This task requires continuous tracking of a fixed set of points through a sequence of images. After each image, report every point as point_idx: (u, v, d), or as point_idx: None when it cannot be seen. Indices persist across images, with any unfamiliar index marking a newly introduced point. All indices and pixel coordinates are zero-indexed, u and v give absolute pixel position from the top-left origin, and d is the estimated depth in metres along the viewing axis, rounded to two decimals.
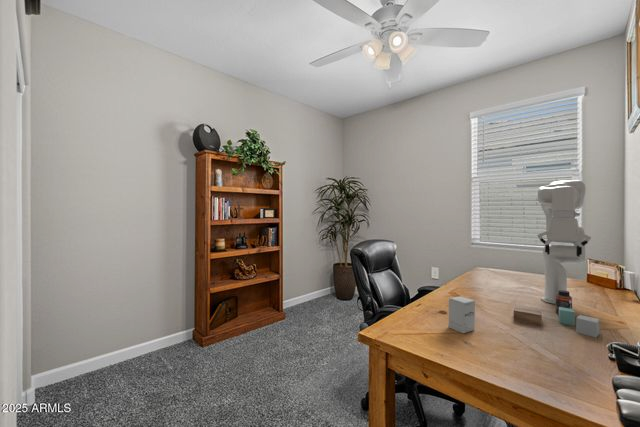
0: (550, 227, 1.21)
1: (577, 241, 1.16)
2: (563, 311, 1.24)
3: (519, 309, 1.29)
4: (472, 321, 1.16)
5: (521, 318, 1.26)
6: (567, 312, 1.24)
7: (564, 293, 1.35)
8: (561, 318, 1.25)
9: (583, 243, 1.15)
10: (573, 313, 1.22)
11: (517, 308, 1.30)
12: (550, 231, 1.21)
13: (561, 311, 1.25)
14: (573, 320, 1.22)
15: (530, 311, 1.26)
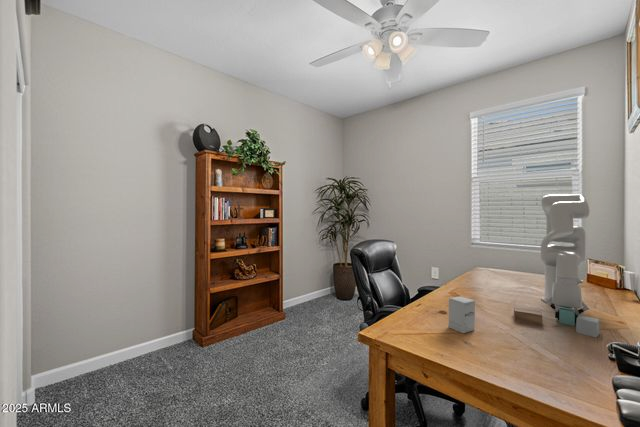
0: (554, 292, 1.27)
1: (576, 309, 1.22)
2: (563, 311, 1.24)
3: (519, 309, 1.29)
4: (472, 321, 1.16)
5: (522, 319, 1.26)
6: (567, 312, 1.24)
7: None
8: (561, 318, 1.25)
9: (579, 311, 1.22)
10: (573, 313, 1.22)
11: (517, 308, 1.30)
12: (554, 296, 1.27)
13: (561, 311, 1.25)
14: (573, 320, 1.22)
15: (530, 311, 1.26)
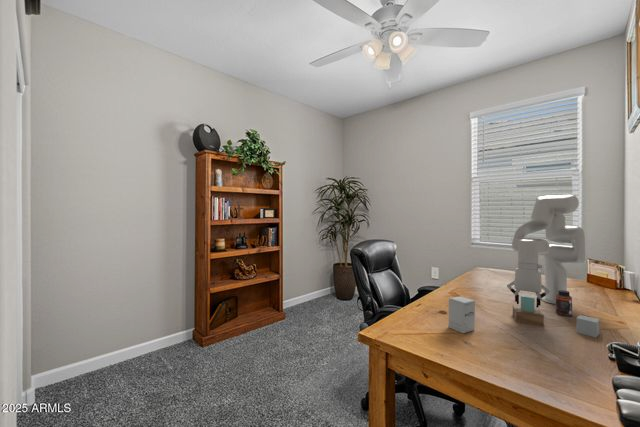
0: (516, 277, 1.30)
1: (538, 293, 1.25)
2: (524, 298, 1.27)
3: (520, 310, 1.28)
4: (472, 321, 1.16)
5: (523, 319, 1.25)
6: (528, 299, 1.27)
7: (564, 293, 1.35)
8: (522, 305, 1.28)
9: (542, 295, 1.25)
10: (533, 300, 1.25)
11: (518, 309, 1.30)
12: (516, 281, 1.29)
13: (522, 298, 1.28)
14: (533, 307, 1.25)
15: None
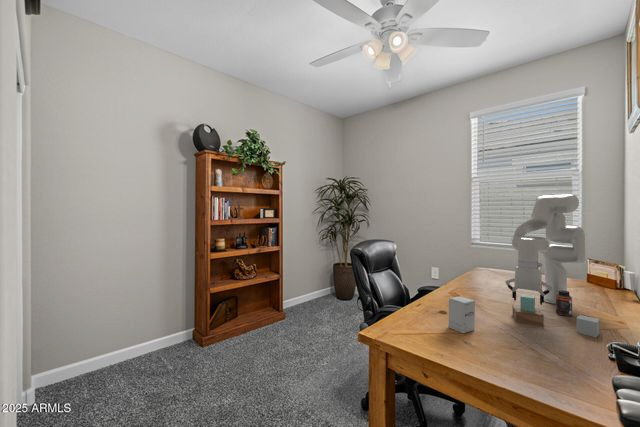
0: (516, 275, 1.30)
1: (540, 290, 1.25)
2: (523, 298, 1.28)
3: (520, 310, 1.28)
4: (472, 321, 1.16)
5: (523, 319, 1.25)
6: (527, 299, 1.27)
7: (564, 293, 1.35)
8: (522, 305, 1.28)
9: (545, 292, 1.24)
10: (533, 300, 1.25)
11: (517, 309, 1.30)
12: (516, 279, 1.30)
13: (522, 298, 1.28)
14: (533, 306, 1.25)
15: None
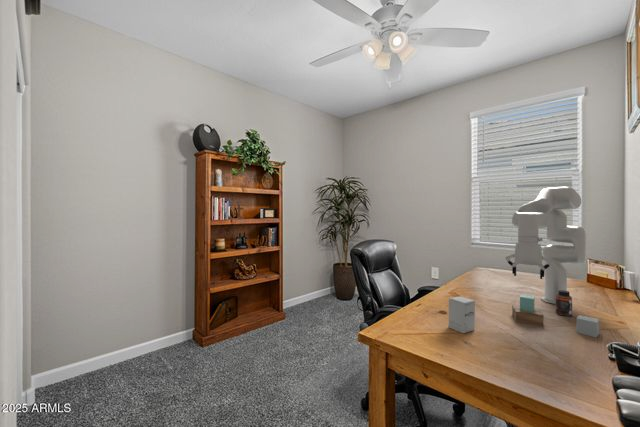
0: (516, 251, 1.30)
1: (540, 264, 1.25)
2: (523, 298, 1.28)
3: (520, 310, 1.28)
4: (472, 321, 1.16)
5: (523, 319, 1.25)
6: (527, 299, 1.27)
7: (564, 293, 1.34)
8: (521, 305, 1.28)
9: (545, 266, 1.24)
10: (532, 300, 1.25)
11: (517, 309, 1.29)
12: (516, 254, 1.29)
13: (521, 298, 1.28)
14: (532, 307, 1.25)
15: None
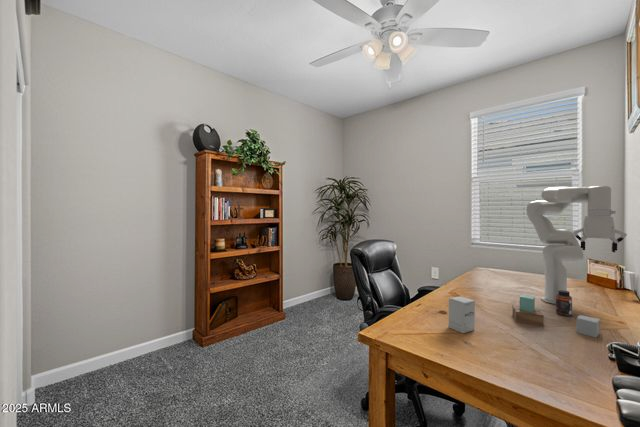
0: (586, 224, 1.28)
1: (613, 238, 1.23)
2: (523, 298, 1.28)
3: (520, 310, 1.28)
4: (472, 321, 1.16)
5: (523, 319, 1.25)
6: (526, 299, 1.27)
7: (564, 293, 1.34)
8: (521, 305, 1.28)
9: (619, 239, 1.22)
10: (532, 300, 1.25)
11: (517, 309, 1.29)
12: (586, 228, 1.28)
13: (521, 298, 1.28)
14: (532, 307, 1.25)
15: None
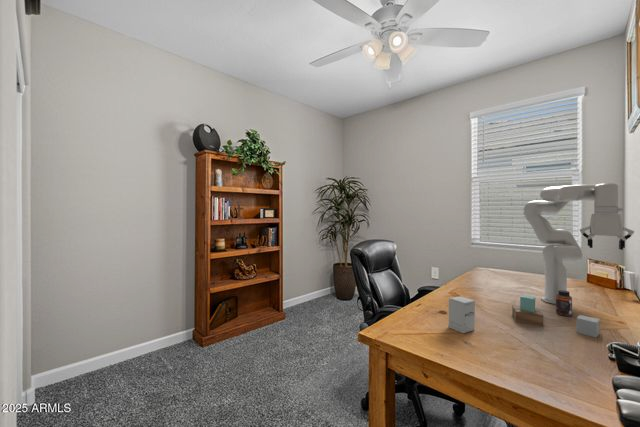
0: (593, 222, 1.28)
1: (620, 235, 1.23)
2: (523, 298, 1.27)
3: (520, 310, 1.28)
4: (472, 321, 1.16)
5: (523, 319, 1.25)
6: (527, 299, 1.26)
7: (564, 293, 1.34)
8: (521, 305, 1.28)
9: (626, 237, 1.22)
10: (532, 300, 1.25)
11: (517, 309, 1.30)
12: (593, 226, 1.27)
13: (521, 298, 1.28)
14: (532, 307, 1.25)
15: None
